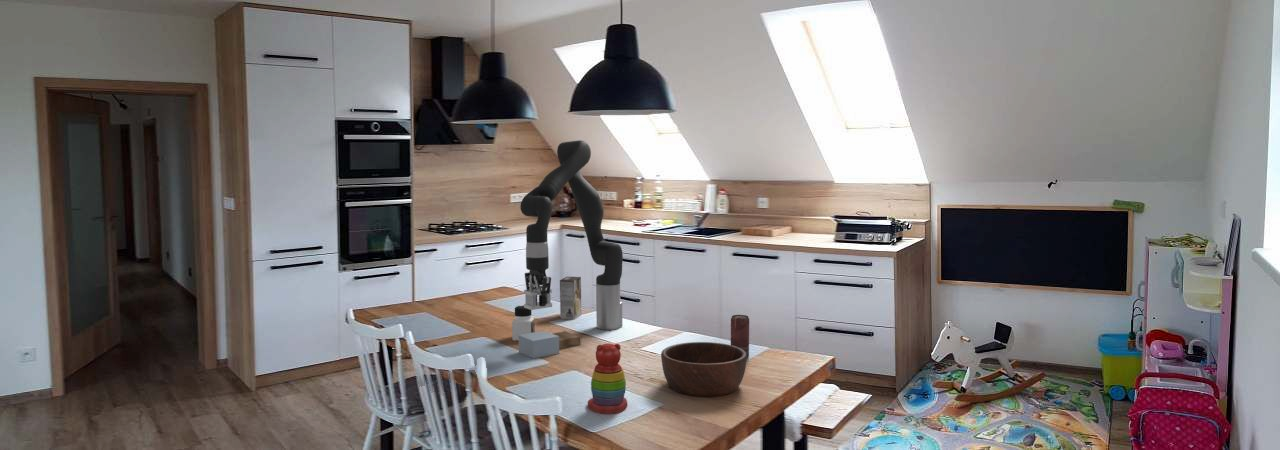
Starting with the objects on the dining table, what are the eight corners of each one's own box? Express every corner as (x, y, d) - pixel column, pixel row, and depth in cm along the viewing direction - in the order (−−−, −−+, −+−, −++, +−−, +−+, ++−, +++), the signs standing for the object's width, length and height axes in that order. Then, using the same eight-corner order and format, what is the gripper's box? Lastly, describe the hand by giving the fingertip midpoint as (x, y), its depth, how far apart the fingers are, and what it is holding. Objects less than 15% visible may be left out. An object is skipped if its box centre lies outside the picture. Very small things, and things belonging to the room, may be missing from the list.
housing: (544, 304, 270) (544, 287, 269) (552, 306, 266) (551, 289, 265) (524, 307, 265) (523, 290, 264) (531, 310, 261) (531, 292, 260)
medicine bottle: (531, 340, 283) (531, 308, 282) (512, 340, 284) (511, 308, 282) (534, 335, 291) (534, 304, 289) (515, 335, 291) (515, 304, 289)
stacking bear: (625, 400, 217) (625, 338, 215) (631, 413, 207) (630, 347, 205) (586, 403, 215) (586, 339, 214) (590, 415, 206) (589, 349, 204)
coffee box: (567, 314, 327) (566, 276, 326) (581, 314, 326) (581, 276, 324) (559, 318, 318) (559, 279, 317) (574, 319, 317) (574, 280, 315)
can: (727, 358, 259) (727, 317, 257) (734, 354, 264) (734, 313, 263) (744, 361, 256) (745, 319, 254) (751, 356, 262) (751, 315, 260)
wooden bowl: (693, 369, 247) (693, 337, 246) (762, 384, 232) (763, 350, 231) (643, 388, 228) (643, 354, 227) (715, 406, 213) (715, 369, 211)
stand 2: (565, 339, 285) (565, 331, 285) (580, 344, 277) (580, 336, 277) (541, 343, 279) (541, 335, 279) (556, 349, 271) (556, 341, 271)
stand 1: (543, 347, 274) (543, 330, 273) (559, 353, 266) (559, 336, 265) (518, 352, 268) (518, 335, 267) (533, 358, 260) (533, 340, 259)
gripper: (558, 256, 260) (558, 306, 262) (536, 251, 271) (536, 300, 273) (538, 258, 256) (539, 309, 257) (516, 253, 267) (517, 302, 269)
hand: (538, 304), depth 265 cm, fingers closed on housing, 5 cm apart
